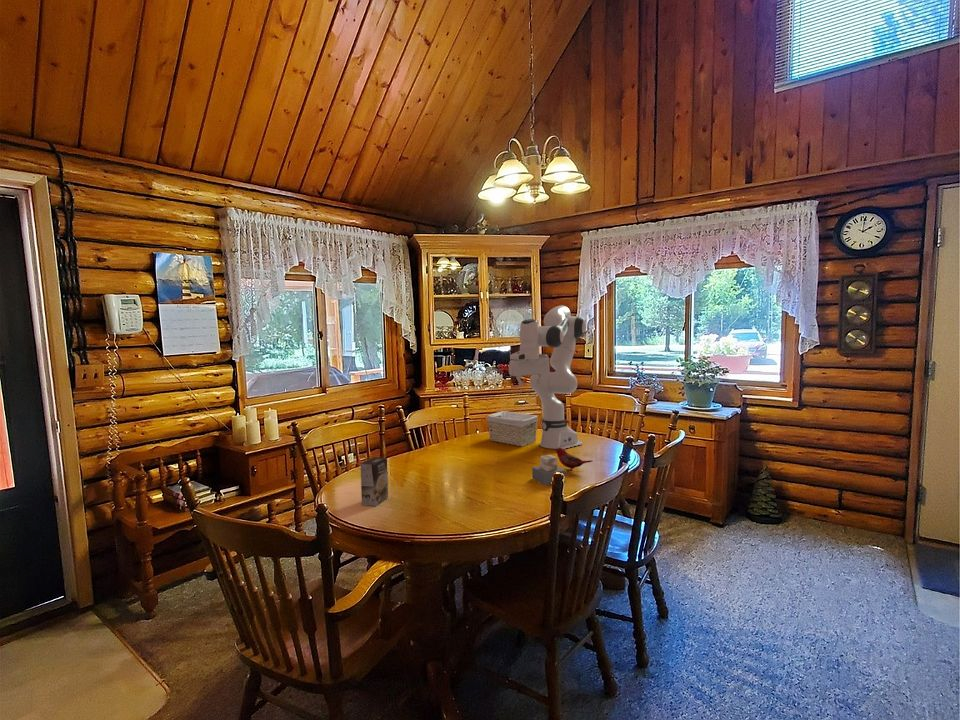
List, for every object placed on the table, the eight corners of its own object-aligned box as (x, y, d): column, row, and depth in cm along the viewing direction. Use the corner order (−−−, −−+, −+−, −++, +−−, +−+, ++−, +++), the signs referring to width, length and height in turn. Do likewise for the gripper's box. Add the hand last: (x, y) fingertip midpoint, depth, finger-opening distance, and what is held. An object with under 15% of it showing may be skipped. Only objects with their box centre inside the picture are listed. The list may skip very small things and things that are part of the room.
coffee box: (375, 506, 189) (374, 464, 187) (361, 504, 191) (359, 463, 190) (389, 498, 197) (387, 457, 196) (374, 496, 200) (373, 456, 198)
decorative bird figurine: (556, 468, 230) (556, 446, 229) (594, 473, 221) (594, 451, 220) (553, 469, 228) (553, 448, 227) (592, 475, 219) (592, 453, 218)
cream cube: (550, 466, 217) (550, 454, 217) (557, 469, 213) (556, 457, 212) (540, 467, 215) (540, 456, 214) (546, 471, 210) (546, 459, 210)
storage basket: (539, 441, 277) (539, 415, 276) (523, 448, 264) (522, 420, 263) (503, 435, 292) (503, 410, 290) (486, 441, 279) (485, 415, 278)
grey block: (552, 475, 221) (552, 463, 220) (565, 481, 212) (565, 470, 211) (532, 478, 217) (532, 467, 216) (545, 485, 208) (544, 473, 207)
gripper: (544, 353, 241) (545, 381, 243) (506, 355, 233) (507, 385, 234) (552, 354, 236) (552, 383, 237) (513, 356, 227) (513, 387, 228)
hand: (529, 384), depth 236 cm, fingers open, 8 cm apart
